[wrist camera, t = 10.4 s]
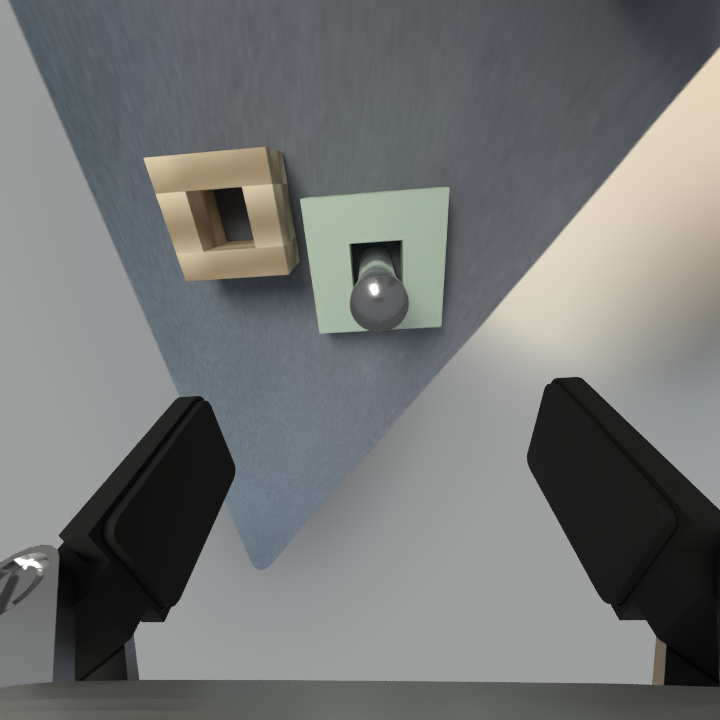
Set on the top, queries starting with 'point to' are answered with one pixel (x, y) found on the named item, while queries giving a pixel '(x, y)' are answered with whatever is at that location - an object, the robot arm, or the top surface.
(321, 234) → the dock
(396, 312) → the pin
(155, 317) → the top surface
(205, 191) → the frame
